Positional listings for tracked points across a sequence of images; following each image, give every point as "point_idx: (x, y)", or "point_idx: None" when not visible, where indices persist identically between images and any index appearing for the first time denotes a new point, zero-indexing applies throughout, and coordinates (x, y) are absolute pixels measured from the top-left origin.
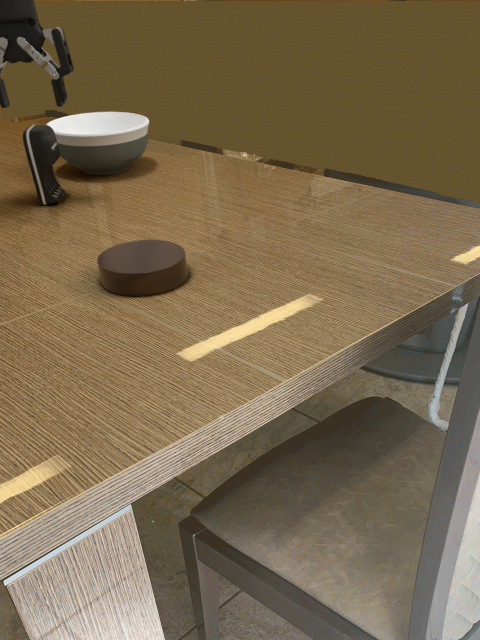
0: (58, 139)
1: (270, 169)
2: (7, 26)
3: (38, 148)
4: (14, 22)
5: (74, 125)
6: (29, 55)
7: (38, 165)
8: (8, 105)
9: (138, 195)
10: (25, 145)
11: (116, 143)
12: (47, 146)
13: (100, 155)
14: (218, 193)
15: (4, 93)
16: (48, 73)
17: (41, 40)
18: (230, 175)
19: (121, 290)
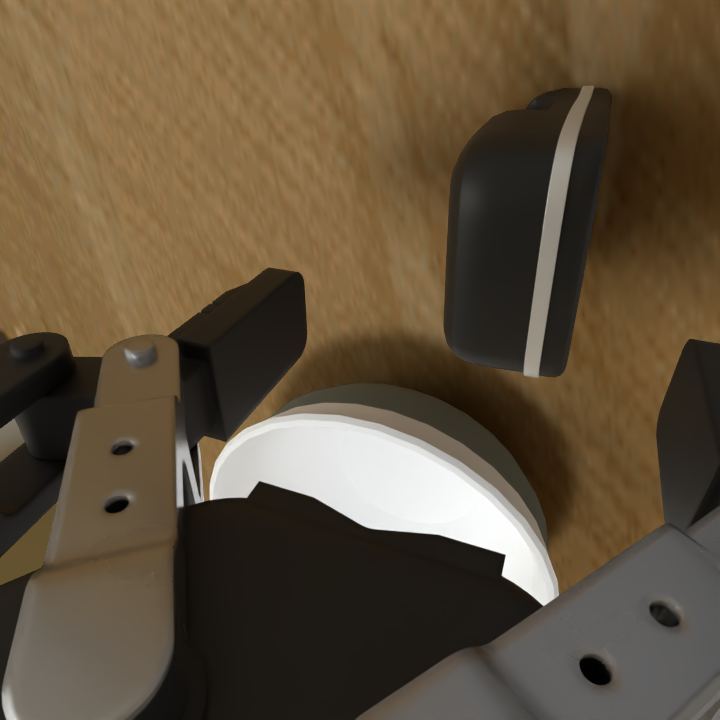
0: (500, 484)
1: (22, 329)
2: None
3: (519, 125)
4: None
5: None
6: (209, 532)
7: (556, 110)
8: (667, 397)
9: (264, 172)
10: (595, 134)
11: (293, 407)
12: (467, 144)
13: (364, 387)
14: (57, 151)
15: (679, 441)
16: (175, 369)
17: None
18: (86, 306)
19: None
